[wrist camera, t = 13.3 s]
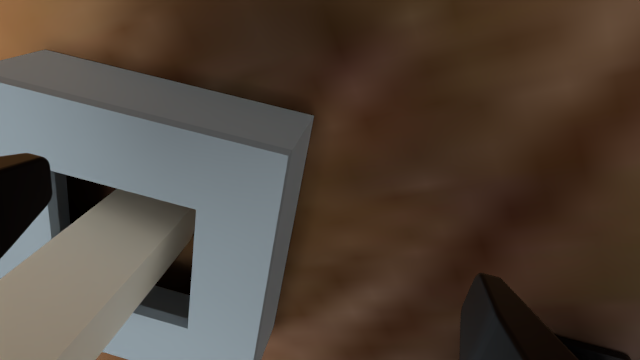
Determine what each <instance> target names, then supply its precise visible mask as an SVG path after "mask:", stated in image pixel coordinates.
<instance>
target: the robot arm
mask: <svg viewBox="0 0 640 360" xmlns="http://www.w3.org/2000/svg"><path fill="white" fill-rule="evenodd" d="M52 194H53V189H52V179H51V170H50V163H49V161H48V160H47V159H46V158H45V157H42V156H38V155H34V154H30V153H21V154H14V155H6V156H0V259H1V258H2V257H3V256H4V255H5V253H6V252H7V251H8V250H9V249H10V248H11V247H12V246H13V244H14V243H15V242H16V241H17V240H18V239H19V238H20V236H21V235H22V234H23V233H24V232H25V231H26V229H27V228H28V227H29V226H30V225H31V224H32V222H33V221H34V220H35V219H36V218H37V217H38V216H39V214H40V213H41V212H42V211H43V210H44V209H45V207H46V206H47V205H48V204H49V202H50V201H51V198H52ZM460 360H631V359H630V357H629V356H626V355H624V354H620V353H616V352H613V351H609V350H605V349H602V348H598V347H594V346H591V345H587V344H583V343H580V342H576V341H572V340H569V339H565V338H561V337H558V336H555V335H554V334H553V332H552V331H551V330H550V329H549V328H548V327H547V326H546V325H545V324H544V323H543V322H542V321H541V320H540V319H539V318H538V317H537V316H536V315H535V314H534V313H533V312H532V311H531V309H530V308H529V307H528V306H527V305H526V304H525V303H524V302H523V301H522V300H521V299H520V298H519V297H518V296H517V295H516V294H515V293H514V292H513V291H512V290H511V289H510V287H509V286H508V285H507V284H506V283H505V282H504V281H503V280H502V279H501V278H499V277H496V276H492V275H488V274H484V273H479V274H477V275H476V277H475V278H474V281H473V283H472V285H471V287H470V290H469V292H468V294H467V296H466V299H465V301H464V303H463V306H462V310H461V322H460Z"/></svg>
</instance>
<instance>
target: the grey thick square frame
mask: <svg viewBox="0 0 640 360" xmlns="http://www.w3.org/2000/svg"><path fill="white" fill-rule="evenodd" d="M313 119H314V116H313V115H309V114H305V113H301V112H297V111H293V110H289V109H285V108H281V107H277V106H273V105H268V104H264V103H260V102H256V101H252V100H248V99H244V98H240V97H236V96H232V95H228V94H224V93H220V92H216V91H211V90H207V89H203V88H199V87H195V86H191V85H187V84H183V83H179V82H175V81H171V80H167V79H163V78H159V77H154V76H150V75H146V74H142V73H138V72H134V71H130V70H126V69H122V68H118V67H114V66H110V65H106V64H102V63H97V62H93V61H89V60H85V59H81V58H77V57H73V56H69V55H65V54H61V53H57V52H53V51H49V50H41V51H37V52H33V53H29V54H25V55H21V56H17V57H13V58H9V59H5V60H1V61H0V156H6V155H14V154H21V153H30V154H34V155H38V156H42V157H45V158H46V159H47V160H48V161H49V163H50V170H51V179H52V189H53V194H52V198H51V201H50V202H49V204H48V205H47V206H46V207H45V209H44V210H43V211H42V212H41V213H40V214H39V216H38V217H37V218H36V219H35V220H34V221H33V222H32V224H31V225H30V226H29V227H28V228H27V229H26V231H25V232H24V233H23V234H22V235H21V236H20V238H19V239H18V240H17V241H16V242H15V243H14V244H13V246H12V247H11V248H10V249H9V250H8V251H7V252H6V253H5V255H4V256H3V257H2V258H1V259H0V279H1V278H2V277H3V276H5V275H6V274H7V273H9V272H10V271H11V270H13V269H14V268H15V267H16V266H18V265H19V264H20V263H22V262H23V261H24V260H25V259H27V258H28V257H29V256H31V255H32V254H33V253H34V252H36V251H37V250H38V249H40V248H41V247H42V246H44V245H45V244H46V243H47V242H49V241H50V240H51V239H53V238H54V237H55V236H56V235H58V234H59V233H60V232H62V231H63V230H64V229H65V228H67V227H68V226H69V225H70V215H69V203H68V191H67V179H66V175H69V176H72V177H76V178H80V179H83V180H87V181H91V182H95V183H98V184H102V185H106V186H110V187H113V188H117V189H121V190H124V191H128V192H132V193H136V194H139V195H143V196H147V197H151V198H154V199H158V200H162V201H165V202H169V203H173V204H177V205H180V206H184V207H188V208H192V209H195V210H196V219H195V233H194V247H193V261H192V275H191V289H190V295H187V294H183V293H180V292H176V291H173V290H169V289H166V288H162V287H159V286H155V285H154V287H153V288H152V289H151V291H150V292H149V293H148V294H147V296H146V297H145V298H144V299H143V301H142V302H141V303H140V304H139V306H138V307H137V308H136V309H135V311H134V312H133V313H132V314H131V316H130V317H129V318H128V319H127V321H126V322H125V323H124V325H123V326H122V327H121V328H120V330H119V331H118V332H117V333H116V335H115V336H114V337H113V338H112V340H111V341H110V342H109V343H108V345H107V346H106V347H105V348H104V350H103V351H102V352H105V353H108V354H112V355H115V356H119V357H122V358H125V359H129V360H261V358H262V356H263V353H264V350H265V348H266V345H267V343H268V340H269V337H270V335H271V332H272V330H273V327H274V322H275V317H276V312H277V306H278V301H279V296H280V291H281V286H282V280H283V275H284V270H285V265H286V260H287V254H288V249H289V244H290V239H291V234H292V228H293V223H294V218H295V213H296V208H297V202H298V197H299V192H300V187H301V182H302V176H303V171H304V166H305V161H306V156H307V150H308V145H309V140H310V135H311V130H312V124H313Z"/></svg>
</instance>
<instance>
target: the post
mask: <svg viewBox="0 0 640 360" xmlns="http://www.w3.org/2000/svg"><path fill="white" fill-rule="evenodd" d="M195 219H196V210H195V209H192V208H188V207H184V206H180V205H177V204H173V203H169V202H165V201H162V200H158V199H154V198H151V197H147V196H143V195H139V194H136V193H132V192H128V191H124V190H121V189H116V190H115V191H113V192H112V193H111V194H109V195H108V196H107V197H106V198H104V199H103V200H102V201H100V202H99V203H98V204H96V205H95V206H94V207H93V208H91V209H90V210H89V211H87V212H86V213H85V214H84V215H82V216H81V217H80V218H78V219H77V220H76V221H75V222H73V223H72V224H71V225H69V226H68V227H67V228H65V229H64V230H63V231H62V232H60V233H59V234H58V235H56V236H55V237H54V238H53V239H51V240H50V241H49V242H47V243H46V244H45V245H44V246H42V247H41V248H40V249H38V250H37V251H36V252H34V253H33V254H32V255H31V256H29V257H28V258H27V259H25V260H24V261H23V262H22V263H20V264H19V265H18V266H16V267H15V268H14V269H13V270H11V271H10V272H9V273H7V274H6V275H5V276H3V277H2V278H1V279H0V360H96V359H97V357H98V356H99V355H100V353H101V352H102V351H103V350H104V348H105V347H106V346H107V345H108V343H109V342H110V341H111V340H112V338H113V337H114V336H115V335H116V333H117V332H118V331H119V330H120V328H121V327H122V326H123V325H124V323H125V322H126V321H127V319H128V318H129V317H130V316H131V314H132V313H133V312H134V311H135V309H136V308H137V307H138V306H139V304H140V303H141V302H142V301H143V299H144V298H145V297H146V296H147V294H148V293H149V292H150V291H151V289H152V288H153V287H154V285H155V284H156V283H157V282H158V280H159V279H160V278H161V277H162V275H163V274H164V273H165V272H166V270H167V269H168V268H169V267H170V265H171V264H172V263H173V262H174V260H175V259H176V258H177V257H178V255H179V254H180V253H181V251H182V250H183V249H184V248H185V246H186V245H187V244H188V243H189V241H190V240H191V238H192V235H193V232H194V229H195Z"/></svg>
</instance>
